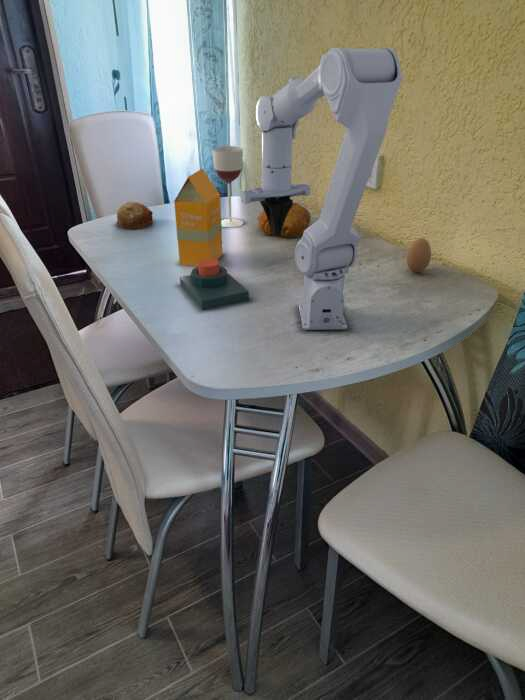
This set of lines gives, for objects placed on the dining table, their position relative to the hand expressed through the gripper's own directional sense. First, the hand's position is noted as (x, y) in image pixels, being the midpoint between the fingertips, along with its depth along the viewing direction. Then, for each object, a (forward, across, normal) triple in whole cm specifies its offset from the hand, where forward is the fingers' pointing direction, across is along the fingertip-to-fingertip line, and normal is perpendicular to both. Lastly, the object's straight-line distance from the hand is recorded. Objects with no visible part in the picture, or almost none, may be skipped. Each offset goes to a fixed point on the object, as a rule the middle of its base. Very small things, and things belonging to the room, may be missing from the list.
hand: (275, 234), depth 104 cm
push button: (+7, +14, -2) cm, 16 cm away
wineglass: (+11, -7, -42) cm, 44 cm away
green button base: (+10, +14, 0) cm, 18 cm away
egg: (+11, -31, +10) cm, 34 cm away
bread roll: (+11, +17, -53) cm, 57 cm away
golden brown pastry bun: (+11, -18, -30) cm, 37 cm away
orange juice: (+11, +10, -19) cm, 24 cm away
